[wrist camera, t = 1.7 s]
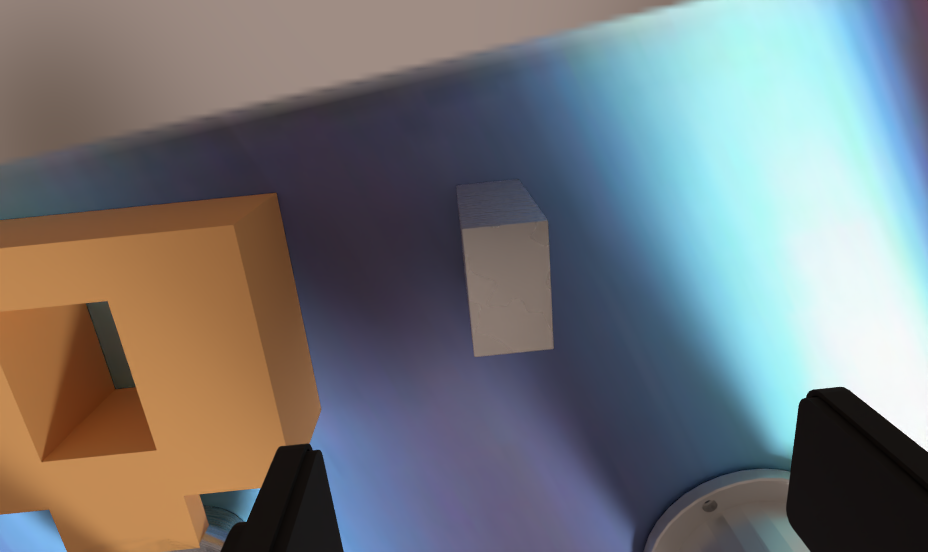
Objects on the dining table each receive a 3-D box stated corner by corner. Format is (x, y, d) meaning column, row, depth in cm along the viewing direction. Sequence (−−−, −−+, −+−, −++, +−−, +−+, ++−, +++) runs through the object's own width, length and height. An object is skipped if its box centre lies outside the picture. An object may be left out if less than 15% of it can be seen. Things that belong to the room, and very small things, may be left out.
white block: (518, 179, 27) (548, 220, 20) (524, 276, 29) (553, 348, 22) (456, 185, 27) (461, 229, 20) (465, 282, 29) (474, 357, 22)
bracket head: (276, 192, 27) (233, 224, 22) (330, 455, 32) (307, 536, 27) (-189, 239, 27) (-354, 283, 21) (-60, 495, 32) (-167, 585, 27)
